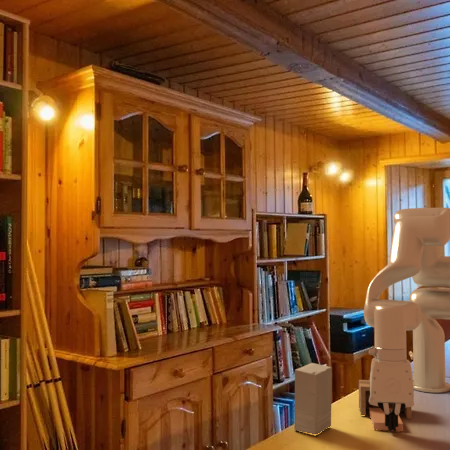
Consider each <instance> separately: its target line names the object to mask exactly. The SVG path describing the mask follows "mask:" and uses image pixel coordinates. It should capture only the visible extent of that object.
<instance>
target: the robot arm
mask: <svg viewBox="0 0 450 450" xmlns="http://www.w3.org/2000/svg"><path fill="white" fill-rule="evenodd" d="M393 223H394V225H393V230H392V231H393V232H392V235H391V236H392V238H391V244H390V250H389V255H388V257H389V258H388V263H387V264H386V265H385V266H384V267H383V268H382V269H381V270H379V271H378V272H377V273H376V274H375V275H374V277H373V278H372V279H371V281H370V283H369V285H368V287H367V289H366V295H365V302H364V307H363V308H364V309H363V318H364V321H365V324H366V325H368V326H369V327H372V328H374V347H373V348H368V355H372V356H373V358H372V360H371V364H370V372H369V380H370V398H369V404H371V405H374V406H378V407H380V408H381V409H382V410H383V411H384V412H385V426H388V430H389V431H388V432H397V431H396V427H398V415H399V416H400V413H401V412H403V409H404V408H405V407H411V408H412V407H414V406H415V401H414V399H415V398H414V397H415V395H414V394H415V392H414V391H418V392H423V393H424V392H425V393H431V394H432V393H437V394H438V393H447V392H449V391H450V383H448V382H446V344H445V343H446V339H445V337H446V336H445V331H444V329H443V327H442V326H441V325H440V323H439V322H438V320H448V321H449V320H450V255H449V256H448V255H445V256H443V255H440V254H439V253H440V252H439V247H444V246H445V245H446V244H448V242H450V207H415V208H414V207H411V208H402V209H399V210H398V211H396V212H395V213H394V215H393ZM410 278H412V281H413V283H414V284H416V285H418V286H420V288H416V289H414V290H413V291H411V292H410V295H409V299H408V300H398V299H397V300H396V299H380V298H381V295H382V293H383V292H384V291H386V289H388V288H389V287H390V286H392V285H394V284H397V283H399V282H402V281H404V280H407V279H410ZM421 286H422V287H421ZM432 287H433V288H432ZM438 287H439V288H438ZM407 331H408V332H409V331H412V350H413V351H412V353H413V355H412V360H413V364H412V363H411V361H410V360H409V359H407ZM412 365H413V367H412ZM412 368H413V369H412ZM388 403H394V406H393V409H392V412H391V411H390V409H389V405H388ZM392 430H393V431H392Z"/></svg>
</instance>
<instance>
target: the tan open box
mask: <svg viewBox="0 0 450 450" xmlns="http://www.w3.org/2000/svg"><path fill="white" fill-rule="evenodd" d="M369 398H370V379H368V380H367V379H358V409H359V408H360V409H359V413H360V412H361V414H360V416H361V415H366V416H367V412H366V410H367V409H366V408H380V407H378V406H374V405H371V404H369ZM388 405H389V408H391V409H393V406H394V403H388ZM403 411H404V412H403ZM402 412H403V413H405V414H404V416H405V415H406V416H405V418H406V419H407V418H412V406H411V407H405V408H404V409H403V410H402Z"/></svg>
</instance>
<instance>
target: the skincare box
mask: <svg viewBox="0 0 450 450" xmlns="http://www.w3.org/2000/svg"><path fill="white" fill-rule="evenodd" d="M332 372H333V367H332V366H328V365H322V364H318V363H315V362H311V363H307V364H306V365H304V366H300V367H298V368H296V369H295V370H294V425H293V426H294V431H295V430H297V431H302V432H307V433H312V434H318V433H320V432H321V431H323V430H325V429H326V428H328V427H330V426H331V427H332V391H333V389H332V385H333V384H332V383H333V382H332V379H333V373H332ZM331 427H330V428H331ZM325 431H326V430H325Z"/></svg>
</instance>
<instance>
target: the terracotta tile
mask: <svg viewBox="0 0 450 450" xmlns="http://www.w3.org/2000/svg"><path fill="white" fill-rule="evenodd" d="M389 409H390V411H391V412H392V409H391V408H389ZM369 415H370V416H369ZM368 416H369V419H370V418H371V419H370V422H371V421H372V423H371V425H372V424H373V426H372V429H373V428H374V429H377V430H376V431H378V430H388V426H385V412H384V411H383V410H382V409H381V408H369V409H368ZM374 429H373V430H374ZM400 431H403V432H404V423H403V421H402V418H401V417H400V414H399V415H398V427H396V431H395V432H400ZM391 432H394V431H393V430H392V431H391Z"/></svg>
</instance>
